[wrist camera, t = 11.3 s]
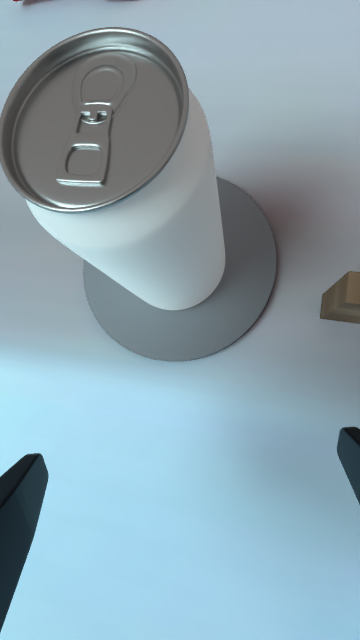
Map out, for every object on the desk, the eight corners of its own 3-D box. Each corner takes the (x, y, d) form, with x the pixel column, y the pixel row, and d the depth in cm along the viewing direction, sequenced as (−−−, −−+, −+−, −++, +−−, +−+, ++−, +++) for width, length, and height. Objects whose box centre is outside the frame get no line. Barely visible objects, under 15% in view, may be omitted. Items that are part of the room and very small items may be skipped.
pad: (319, 247, 19) (321, 243, 18) (184, 404, 19) (182, 405, 18) (168, 145, 22) (166, 139, 21) (53, 280, 22) (48, 277, 21)
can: (233, 221, 19) (223, 3, 8) (217, 318, 19) (182, 237, 7) (139, 214, 21) (13, 21, 9) (121, 305, 20) (-42, 219, 8)
